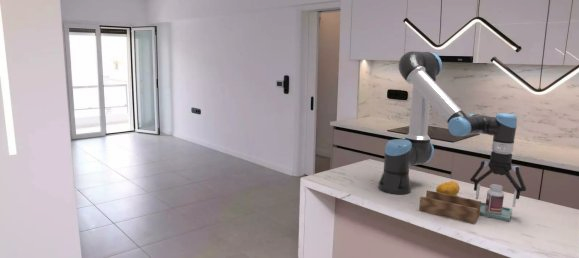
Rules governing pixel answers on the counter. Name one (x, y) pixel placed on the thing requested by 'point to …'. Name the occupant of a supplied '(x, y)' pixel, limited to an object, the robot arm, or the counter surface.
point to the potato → (448, 188)
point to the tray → (503, 215)
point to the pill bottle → (494, 199)
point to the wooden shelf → (450, 206)
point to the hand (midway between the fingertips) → (494, 202)
